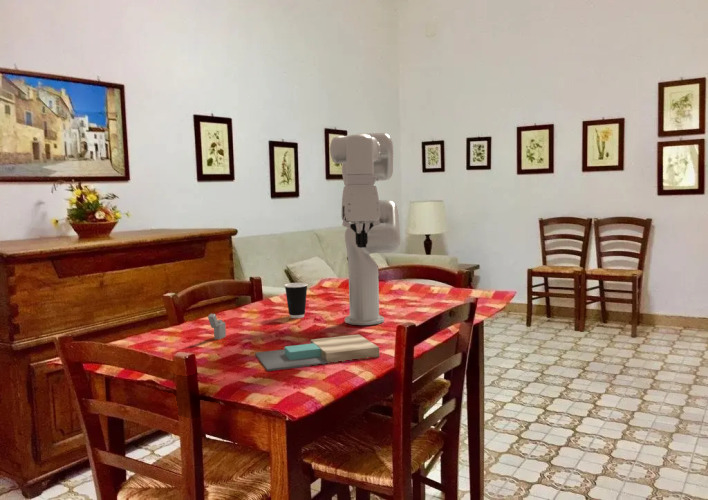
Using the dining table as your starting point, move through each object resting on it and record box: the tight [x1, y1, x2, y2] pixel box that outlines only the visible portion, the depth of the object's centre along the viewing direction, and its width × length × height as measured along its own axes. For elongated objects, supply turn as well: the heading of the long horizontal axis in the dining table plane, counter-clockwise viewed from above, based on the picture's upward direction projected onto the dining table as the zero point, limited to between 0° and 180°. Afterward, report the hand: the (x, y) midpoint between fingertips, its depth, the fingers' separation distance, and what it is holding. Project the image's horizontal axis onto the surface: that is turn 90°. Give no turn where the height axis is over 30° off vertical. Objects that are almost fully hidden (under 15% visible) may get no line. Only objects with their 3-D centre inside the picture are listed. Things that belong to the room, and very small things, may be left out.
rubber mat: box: [254, 348, 329, 372], centre depth 156 cm, size 16×15×1 cm
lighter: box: [207, 313, 227, 341], centre depth 179 cm, size 7×2×8 cm, turn 164°
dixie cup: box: [283, 282, 309, 319], centre depth 207 cm, size 8×8×11 cm
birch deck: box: [310, 333, 380, 364], centre depth 161 cm, size 15×14×2 cm
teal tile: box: [284, 343, 321, 360], centre depth 158 cm, size 6×8×2 cm
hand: (361, 246), depth 172 cm, fingers closed
